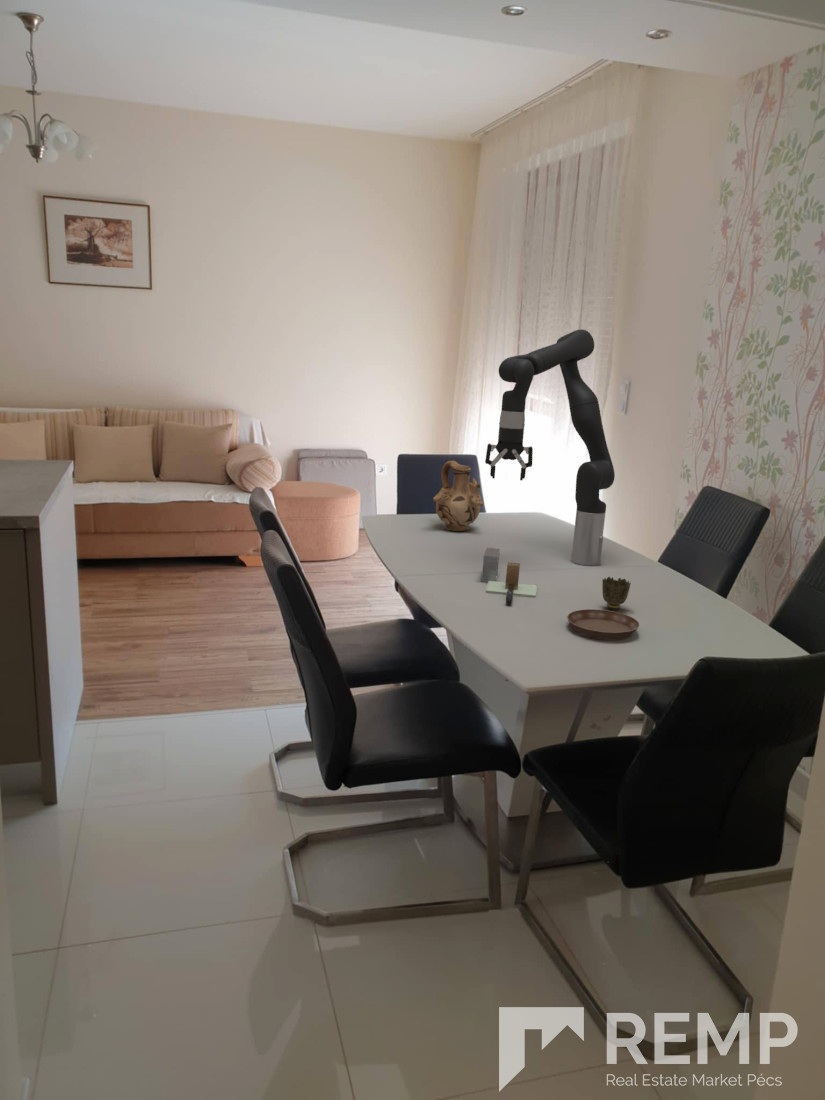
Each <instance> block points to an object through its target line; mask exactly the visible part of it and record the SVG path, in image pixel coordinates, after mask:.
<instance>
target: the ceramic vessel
mask: <svg viewBox="0 0 825 1100" xmlns="http://www.w3.org/2000/svg"><path fill="white" fill-rule="evenodd" d="M471 470H472V468H471V466H469V465H464V464H460V463H458V462H457V461H455V460H448V461H446V462H445V463H444V464H443V466H442V468H441V483H442V487H441V488H440V490H439V492H438V493H436V494H435V496H434V497H433V498H432V501H433V502H435V512H436V514H437V517H438V518H439V519H440V520H441V521H442V522H444V524H445V526H446V527H445V529H446V528H447V529H449V530H448V531H450V530H453V531H452V532H462V531H463V532H464V531H468V530H469V526H470V524H473V523H474V522H475V521H476V520H477V518H478V516H479V514H480V512H481V507H482V506H484V501H483V500H482V496H481V494H480V488H481V484H480V483H479V482H477V481H476V479H475V477H474V476H473V477H472V482H470V478H471ZM450 471H452V474H453V482H452V486H451V485H450V478H449V475H450V474H449V473H450ZM447 529H446V530H447Z"/></svg>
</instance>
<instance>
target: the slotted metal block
mask: <svg viewBox="0 0 825 1100" xmlns="http://www.w3.org/2000/svg"><path fill="white" fill-rule="evenodd" d="M500 550H501V549H500V548H495V547H494V548H493V547H486V549H485V552H484V553H483V560H482V561H483V562H482V571H481V572H482V573H481V582H482V583H487V584H488V581H496V582H497V577H498V574H499V565H500V564H499V562H500V561H499V560H500ZM496 576H497V577H496Z"/></svg>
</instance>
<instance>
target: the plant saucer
mask: <svg viewBox="0 0 825 1100" xmlns="http://www.w3.org/2000/svg"><path fill="white" fill-rule="evenodd" d="M566 618H567V621H568V623H569V625H570V626H571V627H572V629H573V630H574V631H575V632H576V633H578V634H580V635H582V636H585V637H588V638H591V639H597V640H605V641H617V640H624V639H626V638H629V637H631V635H633V634H634V633H635V632H637V630H638V629H639V627H640V623H639V621H638V620H637V619H635V618H634V617H632V616H630V615H627V614H624V613H621V612H617V611H614V610H607V609H594V608H593V609H591V608H590V609H589V608H588V609H579V610H574V611H571V612H570V613H568V615H567V616H566Z"/></svg>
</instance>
